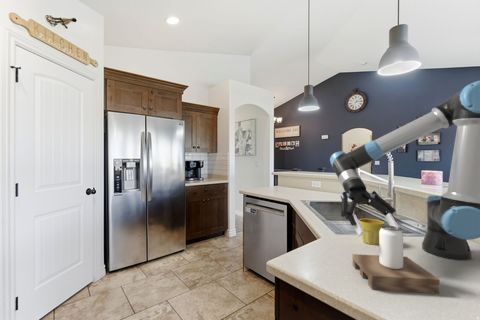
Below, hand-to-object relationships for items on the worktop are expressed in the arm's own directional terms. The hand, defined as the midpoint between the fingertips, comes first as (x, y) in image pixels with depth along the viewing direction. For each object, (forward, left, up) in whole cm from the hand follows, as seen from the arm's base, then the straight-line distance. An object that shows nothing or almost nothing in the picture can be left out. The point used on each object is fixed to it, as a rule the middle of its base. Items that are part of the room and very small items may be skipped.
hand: (379, 232), depth 79 cm
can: (-2, +4, -9) cm, 10 cm away
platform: (-2, +4, -13) cm, 14 cm away
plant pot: (-10, -30, -13) cm, 35 cm away
